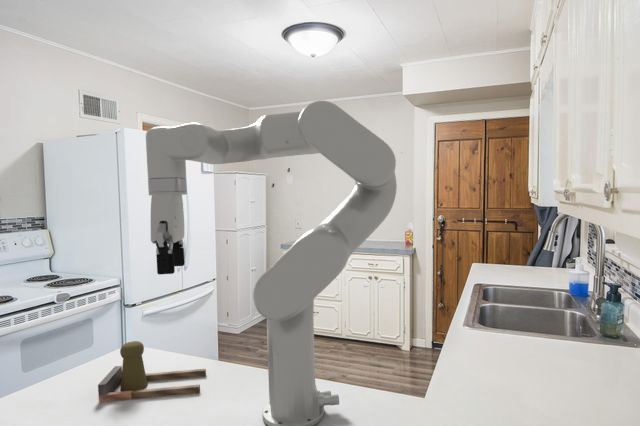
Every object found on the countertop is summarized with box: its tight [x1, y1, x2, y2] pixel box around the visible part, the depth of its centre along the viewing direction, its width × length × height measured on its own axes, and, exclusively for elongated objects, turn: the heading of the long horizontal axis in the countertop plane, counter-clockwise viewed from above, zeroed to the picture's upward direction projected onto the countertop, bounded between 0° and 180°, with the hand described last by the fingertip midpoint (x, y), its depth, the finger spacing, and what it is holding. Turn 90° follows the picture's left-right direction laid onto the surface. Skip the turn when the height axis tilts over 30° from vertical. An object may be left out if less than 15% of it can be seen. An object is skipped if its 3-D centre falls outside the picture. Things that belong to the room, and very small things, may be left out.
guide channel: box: [97, 365, 207, 403], centre depth 99 cm, size 22×10×4 cm, turn 97°
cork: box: [119, 340, 149, 392], centre depth 99 cm, size 6×6×11 cm
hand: (171, 269), depth 86 cm, fingers open, 9 cm apart
